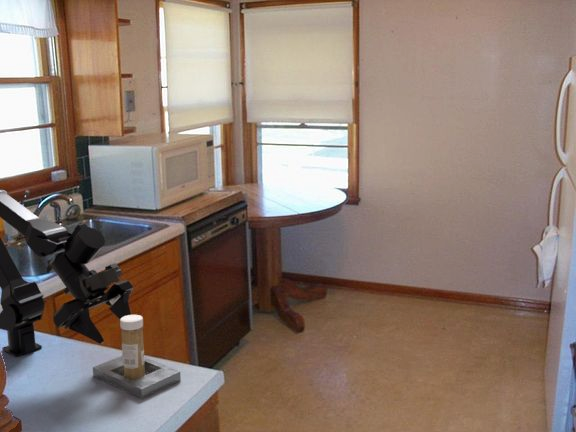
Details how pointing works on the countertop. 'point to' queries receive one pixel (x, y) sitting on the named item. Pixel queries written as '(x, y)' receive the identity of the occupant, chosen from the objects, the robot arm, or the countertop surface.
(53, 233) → the robot arm
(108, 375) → the gray rectangular frame
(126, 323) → the sprinkles bottle
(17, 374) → the countertop surface
